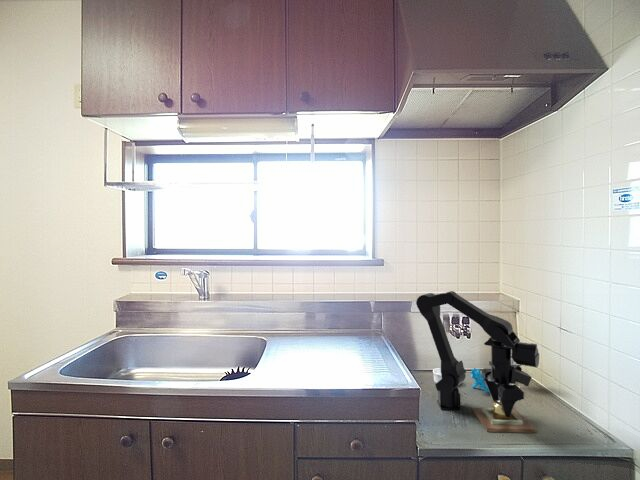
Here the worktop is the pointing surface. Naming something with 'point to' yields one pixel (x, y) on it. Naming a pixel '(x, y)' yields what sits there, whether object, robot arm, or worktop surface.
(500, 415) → the tan two-tone cylinder
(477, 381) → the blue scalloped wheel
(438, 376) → the ramekin
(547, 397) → the worktop surface
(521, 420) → the carrier board
